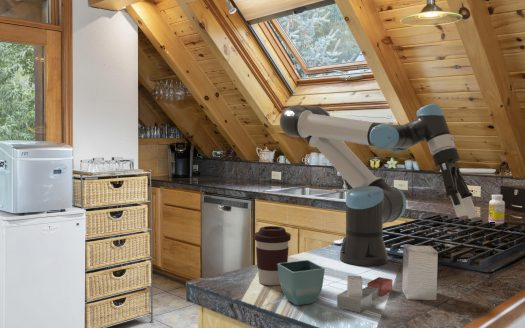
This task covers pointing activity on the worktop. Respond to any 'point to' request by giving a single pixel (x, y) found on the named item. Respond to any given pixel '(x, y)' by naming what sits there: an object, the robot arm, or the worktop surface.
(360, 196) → the robot arm
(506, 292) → the worktop surface
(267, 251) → the coffee cup
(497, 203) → the supplement bottle
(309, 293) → the flower pot
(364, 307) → the tiny brick pile
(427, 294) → the tall white upright block
